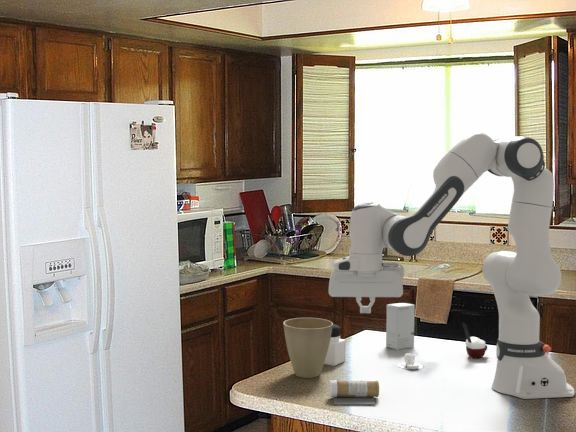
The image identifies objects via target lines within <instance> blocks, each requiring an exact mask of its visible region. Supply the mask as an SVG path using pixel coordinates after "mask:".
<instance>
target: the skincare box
mask: <svg viewBox="0 0 576 432" xmlns="http://www.w3.org/2000/svg"><path fill="white" fill-rule="evenodd" d="M415 306H416V305H415V304H413V303H408V302H398V303H389V304H386V320H385V321H386V325H385V326H386V329H385V331H386V337H385V347H387V348H390V349H393V350H396V351H397V350H398V351H399V350H403V349H408V348H414V346H415V308H416V307H415Z"/></svg>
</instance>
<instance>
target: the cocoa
mask: <svg viewBox="0 0 576 432" xmlns="http://www.w3.org/2000/svg"><path fill="white" fill-rule="evenodd" d="M461 323H462V327H463V330H464V334H465V337H466V340H465V345H466V346H465V348H466V349H465V350H466V353H467V355H468V356H469V357H470V358H472V359H479V360H480V359H481V358H483V357H484V356H485V354H486V352H487V350H488V345H487V344H486V341H485V340H483V339H480V337H476V336H470V333H469V330H468V327H467V324H466V323H465V322H461Z"/></svg>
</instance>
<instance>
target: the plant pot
mask: <svg viewBox="0 0 576 432" xmlns="http://www.w3.org/2000/svg"><path fill="white" fill-rule="evenodd" d="M333 324H334V323H333V322H332V321H331V320H328V319H326V318H325V319H323V318H318V317H296V318H290V319H287V320H286V319H285V320H284V321H283V332H284V339H285V344H286V349H287V352H288V356H289V357H288V358H289V361H290V363H291V366H292V369H293V372H294V374H295V376H297V377H298V378H299V377H300V378H303V379H304V378H306V379H311V378H313V379H314V378H317V377H319V376H320V375H321V373H322V370H323V368H324V365H325V364H324V361H325V358H326V355H327V351H328V348H329V343H330V339H331V333H332V327H333Z"/></svg>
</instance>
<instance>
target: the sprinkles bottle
mask: <svg viewBox="0 0 576 432" xmlns="http://www.w3.org/2000/svg"><path fill="white" fill-rule="evenodd" d="M328 391H329V398H334V397H374V398H378V397H379V396H380V383H379V380H370V381H369V380H336V379H334V380H331V379H330V380H329V385H328Z"/></svg>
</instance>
